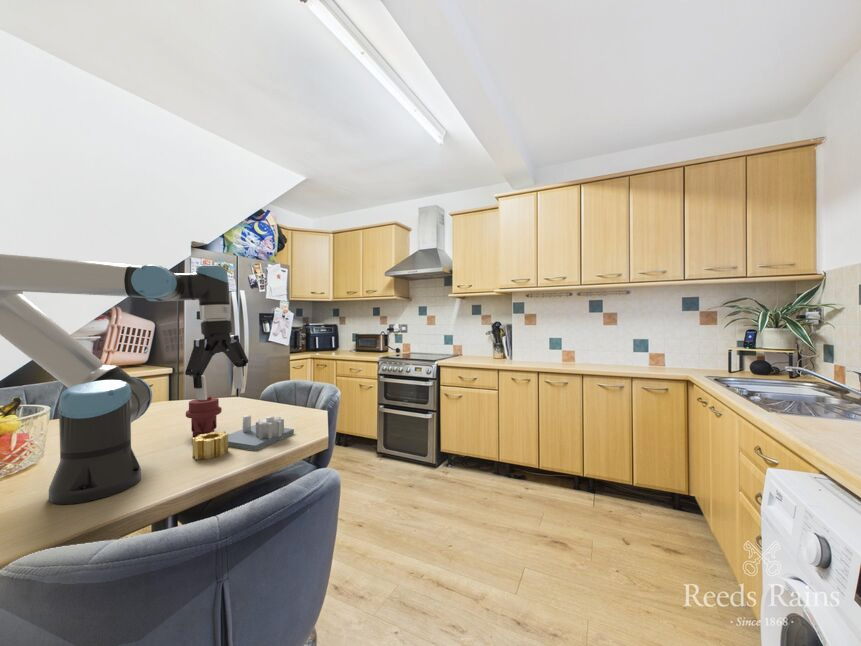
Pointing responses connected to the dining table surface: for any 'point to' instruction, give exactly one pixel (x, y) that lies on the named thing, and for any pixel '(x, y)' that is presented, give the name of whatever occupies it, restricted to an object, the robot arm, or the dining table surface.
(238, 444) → the gear board
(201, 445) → the brass gear
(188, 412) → the mechanical component
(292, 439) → the dining table surface
